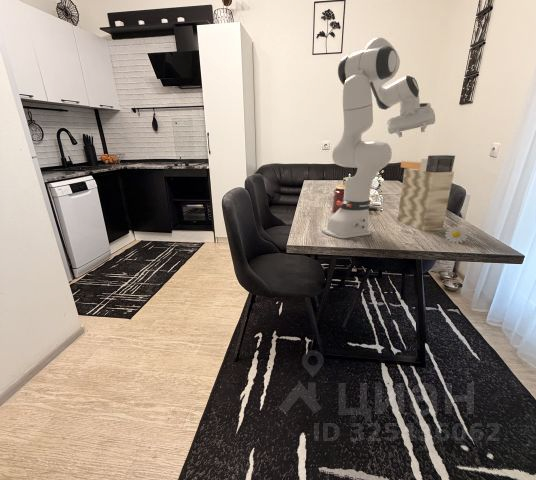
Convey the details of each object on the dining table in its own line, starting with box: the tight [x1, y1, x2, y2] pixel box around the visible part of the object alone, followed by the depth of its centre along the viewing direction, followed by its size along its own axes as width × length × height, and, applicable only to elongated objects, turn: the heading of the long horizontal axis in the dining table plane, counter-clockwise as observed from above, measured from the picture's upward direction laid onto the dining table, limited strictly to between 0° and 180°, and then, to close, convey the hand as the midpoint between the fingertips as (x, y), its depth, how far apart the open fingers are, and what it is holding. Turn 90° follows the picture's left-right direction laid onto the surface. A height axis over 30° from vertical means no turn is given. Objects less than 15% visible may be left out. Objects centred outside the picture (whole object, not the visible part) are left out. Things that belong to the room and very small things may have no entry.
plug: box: [400, 158, 428, 171], centre depth 132 cm, size 24×6×5 cm, turn 11°
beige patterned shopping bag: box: [396, 154, 456, 232], centre depth 131 cm, size 19×10×33 cm, turn 11°
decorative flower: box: [439, 225, 469, 244], centre depth 117 cm, size 8×6×15 cm
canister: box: [331, 180, 347, 213], centre depth 161 cm, size 13×13×18 cm
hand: (411, 133), depth 131 cm, fingers open, 8 cm apart
